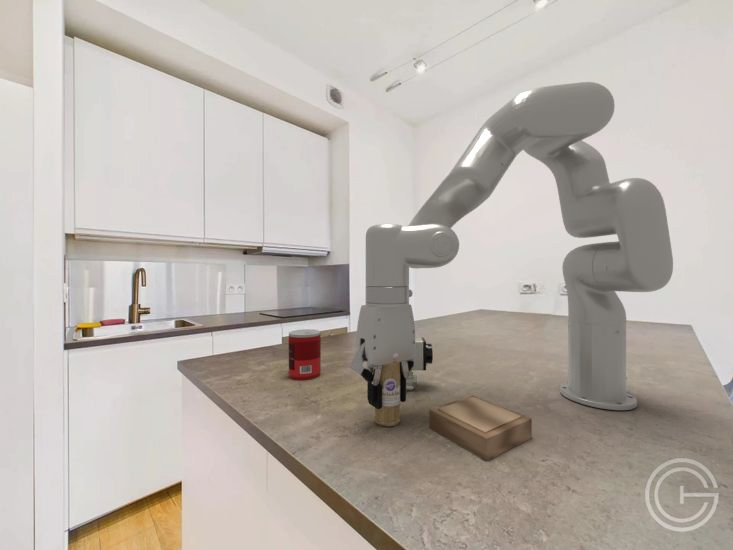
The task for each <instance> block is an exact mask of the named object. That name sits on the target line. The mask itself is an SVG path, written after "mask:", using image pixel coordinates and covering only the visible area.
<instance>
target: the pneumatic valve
mask: <svg viewBox="0 0 733 550" xmlns="http://www.w3.org/2000/svg"><path fill="white" fill-rule="evenodd" d="M415 341H416V348H417V350H418V352H419V353H420V358H419V359H418V360H417V361H416V362H415V363H414V366H413V367H412V369H411V370H410V372H409V377H408V378H406V391H413V390H415V387H417V386H418V375H417V374H414V371H427V367H428V365H431V364H433V357H434V355H433V345H432V343H427V341H426V338H424V337H416V336H415Z"/></svg>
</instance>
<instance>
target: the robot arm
mask: <svg viewBox="0 0 733 550" xmlns="http://www.w3.org/2000/svg"><path fill="white" fill-rule="evenodd" d="M614 112H615V99H614V96H613V94H612V92H611V91H610V90H609V89H608V88H607V87H606V86H604V85H602V84H601V83H597V82H593V81H582V82H573V83H565V84H564V83H563V84H555V85H547V86H540V87H536V88H535V87H534V88H532V89H528V90H525V91H523V92H520V93H519V94H516V96H514V97H512V99H510V100H509V101H508V102H507V103H505V104H504V105H503V106H502V107H501V108H499V109H498V110H497V111H495V112H494V113H493V114H492V115H491V116H490V117H489V118H487V119H486V121H485V122H484V123H483V124H482V125H481V127H480V128H479V130H478V131H477V133H475V135H474V137H473V138H472V140H471V141H470V143H469V144H468V146H467V147H466V148H465V151H463V153H462V155H461V156H460V157H459V159H458V161H457V162H456V163H455V165H454V166H453V168H452V169H451V170H450V172H449V173H448V174H447V176H446V177H445V178H444V179H443V180H442V181H441V183H439V185H438V186H437V188H436V189H435V191H434V192H433V193H432V194H431V195H430V197H429V198H427V200H426V202H424V203H423V205H422V206H421V207H420V208H419V210H418V211H417V213H415V215H414V217H413V218H412V219H411V221H410V222H409V224H408V225H401V224H398V223H397V224H396V223H386V224H385V223H382V224H374V225H371V226H370V227H368V228H367V230H366V233H365V304H361V306H360V310H359V315H358V320H357V327H356V337H355V355H354V357H353V359H352V360H351V362H350V364H349V368H350V369H351V370H353V371H354V372H355V373H358V374H359V375H360V376H361V377H362V378H363V379H364V380H365V382H367V385H366V386H367V390H366V391H367V396H366V397H367V401H368V404H369V405H370V406H372V407H374V409H375V408H377V409H381V407H382V385H381V384H379V380H380V374H381V369H382V366H385V365H388V364H391V363H393V362H394V361H397V362H399V363H400V403H405V402H406V401H407V390H406V378H408V377H409V372H410V370H411V369H412V367H413V366H414V363H415V362H416V361H417V360H418V359H419V358H420V353H419V352H418V350H417V348H416V341H415V337H416V327H415V319H414V313H413V307H412V305H411V303H410V297H412V296H413V291H412V290H411V289H410V269H418V270H419V269H434V268H441V267H444V266H446V265H448V264H450V263H451V262H452V261H453V260H455V258H456V256H457V255H458V252H459V249H460V240H459V237H458V235H457V233H456V232H455V231H454V230H453V229H452V228H453V227H454V225H456V224H458V223H457V222H459V221H460V220H462V219H463V218H464V217H465V216H467V215H469V214H471V212H473V211H475V210H476V209H477V208H479V207H480V206H481V205H482V204H483V203H484V202H485V201H487V200H488V199H489V198H490V197H491V195H492V194H493V192H494V191H495V189H496V188H497V186H498V185H499V183H500V182H501V180H502V178H503V177H504V175H505V174H506V172H507V171H508V169H509V167H511V164H512V163H513V162H514V161H515V160H516V159H515V158H516V157H518V155H519V154H521V152H522V151H524V152H525V153H526V154H527V155H528V156H529V157H532V158H534V159H535V160H536V161H539V162H541V163H542V164H544V165H545V167H547V168H548V169H549V170H550V171H551V173H552V175H553V177H554V179H555V183H556V188H557V194H558V200H559V206H560V211H561V218H562V222H563V226H564V228H565V231H566V232H567V234H569V235H570V236H571V237H574V238H578V239H585V238H587V239H588V238H596V237H604V236H605V237H606V236H613V235H614V236H615V235H616V236H617V240H618V241H617V240H616V241H606V242H597V243H590V244H584V245H581V246H577V247H575V248H574V249H571V250H570V251H569V252H568V253H567V254H566V255H565V257H564V259H563V261H562V268H561V269H562V275H563V276H562V277H563V280H564V284H565V289H566V294H567V308H568V309H567V311H568V312H567V313H568V314H567V315H568V321H567V325H568V328H567V329H568V330H567V331H568V335H567V336H568V337H567V339H568V340H567V341H568V347H567V348H568V349H567V351H568V352H567V353H568V354H567V356H568V357H567V358H568V361H567V363H568V366H567V367H568V369H567V370H568V371H567V372H568V374H567V375H568V378H567V379H568V382H564V383H562V384H560V386H559V393H561V395H563V396H564V397H565V398H567V399H568V400H570V401H573V402H575V403H577V404H581V405H585V406H587V407H588V406H589V407H592V408H596V409H603V410H612V411H629V410H633V409H635V408H637V406H638V400H637V398H636V397H635V396H634V395H632V394H630V393H628V391H627V380H628V377H627V314H626V309H625V307H624V304H623V302H622V301H621V298H620V297H619V295H618V294H617V293H616V292H624V293H625V292H627V293H629V292H630V293H651V292H655V291H658V290H661V289H663V288H664V287H665V286H666V285H668V284H669V282H670V281H671V278H672V276H673V271H674V258H673V252H672V251H673V250H672V244H671V243H672V241H671V237H670V230H669V223H668V217H667V211H666V205H665V202H664V201H665V200H664V197H663V196H662V193H661V191H660V190H659V188H657V186H656V185H655V184H654V183H652V182H651V181H649V180H648V179H645V178H639V177H631V178H625V179H621V180H618V181H613V182H610V179H609V173H608V170H607V165H606V164H607V163H606V160H605V158H604V157H603V155H602V154H601V153H600V151H598V150H597V149H596V148H595V147H594V146H592V145H590V144H589V143H587V142H586V141H584V140H585V139H587V138H589V137H591V136H593V135H595V134H597V133H599V132H600V131H602V130H603V129H604V128H605V127H607V125H608V124H609V122H611V119H612V118H613V116H614ZM395 353H397V354H398V357H393V355H394V354H395ZM393 359H395V360H393ZM364 362H366V367H364V366H363V364H364Z"/></svg>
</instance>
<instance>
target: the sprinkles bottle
mask: <svg viewBox="0 0 733 550" xmlns="http://www.w3.org/2000/svg"><path fill="white" fill-rule="evenodd" d="M393 357H398V354H397V353H395V354H394V355H393ZM393 360H395V359H393ZM379 384H381V385H382V407H381V409H377V408H375V407H374V418H373V419H374V422H375V423H376V424H378V426H379V425H380V426H383V427H393V426H394V427H395V426H397V425H399V424H400V422H401V416H400V415H401V414H400V411H401V408H400V407H401V406H400V405H401V401H400V363H399V362H397V361H394V362H393V363H391V364H388V365H385V366H382V369H381V374H380V380H379Z"/></svg>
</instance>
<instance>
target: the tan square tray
mask: <svg viewBox="0 0 733 550" xmlns="http://www.w3.org/2000/svg"><path fill="white" fill-rule="evenodd" d="M532 421H533V420H532V418H531V417H529V416H526V415H523V414H521V413H518V412H516V411H513V410H511V409H508V408H506V407H503V406H500V405H498V404H496V403H493V402H491V401H488V400H487V399H486V400H485V399H483V398H481V397H478V396H475V395H469V396H466V397H463V398H460V399H457V400H455V401H451V402H447V403H445V404H441V405H439V406H436V407H432V408H429V409H428V428H429V429H431V430H433V431H434V432H436V433H438V434H439V435H442V436H443V437H445V438H446V439H448V440H450V441H451V442H453V443H455V444H457V445H459V446H460V447H462V448H464V449H466V450H467V451H468V452H470V453H472V454H473V455H476V456H477V457H479V458H481V459H482V460H484V461H486V462H487V461H490V460H492V459H493V458H495V457H497V456H500V455H502V454H503V453H505V452H507V451H509V450H511V449H513V448H515V447H517V446H519V445H521V444H523V443H525V442H527V441H529V440H531V439H532V438H533V434H532V433H533V432H532V431H533V429H532V428H533V427H532V426H533V425H532V423H533V422H532Z"/></svg>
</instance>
